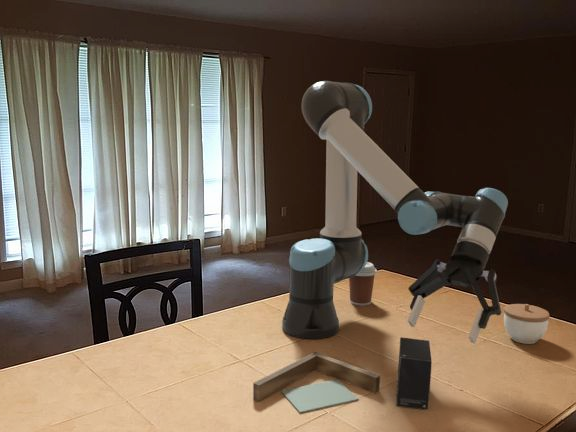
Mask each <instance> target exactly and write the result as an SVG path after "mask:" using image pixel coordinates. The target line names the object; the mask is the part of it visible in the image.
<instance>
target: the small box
mask: <svg viewBox="0 0 576 432" xmlns="http://www.w3.org/2000/svg"><path fill="white" fill-rule="evenodd" d="M430 344H431V343H430V340H426V339H418V338H417V339H416V338H411V337H401V336H400V338H399V353H398V364H397V365H398V366H397V367H398V368H397V378H396V398H395V401H396V403H395V404H396V407H403V408H411V409H418V410H428V409H429V401H430V391H431V390H430V389H431V376H432V365H433V364H432V354H431V353H432V352H431V345H430Z"/></svg>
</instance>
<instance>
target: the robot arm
mask: <svg viewBox="0 0 576 432" xmlns="http://www.w3.org/2000/svg"><path fill="white" fill-rule="evenodd" d="M372 112H373V103H372V99H371V97H370V94H369V93H368V92H367V90H366V89H364V87H362V86H360V85H358V84H354V83H352V82H341V81H340V82H338V81H330V80H323V81H318V82H315V83H314V84H312V85H311V86H309V87H308V88H307V89H306V91H305V92H304V94H303V96H302V99H301V113H302V115H303V118H304V120H305V122H306V124H307V125H308V126H309V127H310V129H311V130H312V131H313V132H314V133H315V134H316V135H317V137H319V138H320V140H325V141H326V147H325V148H326V149H325V150H326V152H325V153H326V157H325V159H326V160H325V163H326V164H325V165H326V166H325V222H324V223H325V226H323V228H322V229H321V230H320V231H319V238H318V237H317V238H310V239H303V240H299V241H297V242H295V243H294V244H293V245H292V246H291V248H290V250H289V251H290V252H289V259H288V264H289V288H288V289H289V297H288V299H289V300H288V302H287V306H286V308H285V310H284V311H285V312H284V315H283V316H282V321H281V322H282V325H281V327H282V330H283V332H284V333H286V334H288V335H290V336H292V337H295V338H300V339H307V340H314V339H315V340H316V339H317V340H318V339H325V338H329V337H332V336H334V335H336V334H337V333H338V332H339V329H340V328H339V327H340V320H339V318H338V314H337V311H336V306H335V303H334V285H335V284H338V283H340V282H343V281H345V280H347V279H348V280H349V278H351V277H354V276H355V275H356V274H358V273H359V272H361V271H362V270H363V269H364V267H365V265H366V263H367V262H368V261H369V250H368V246H367V244H365V241H364V240H363V239H362V231H361V230H360V229H359V228H358V227H357V213H358V212H357V211H358V209H357V207H358V206H357V203H358V201H357V200H358V173H359V174H360V175H361V176H362V177H363V178H364V179H365V180H366V182H367V183H369V185H370V186H371V187H372V188H373V189H374V190H375V191H376V192H377V194H379V195H380V196H381V197H382V198H383V200H385V202H387V203H388V205H390V207H391V208H392V209H393V210H394V211H395V212H396V213H397V221H398V223H399V226H400V228H401V229H402V230H403V232H405V233H407V234H409V235H415V236H416V235H423V234H427V233H429V232H431V231H433V230H436V229H439V228H441V227H444V226H454V227H458V228H459V227H460V228H462V229H461V232H460V234H459V236H458V238H457V240H456V241H457V242H456V244H455V246H454V249H453V250H452V253H451V255H450V259H449V260H448V262H447V263H444V262H442V261H441V260H440V259H438V258H437V259H435V260H434V261H433V263H432V265H431V266H430V267H429V268H428V269H427V270H426V271H425V272H424V273H423V274H421V276H420V277H419V278H417V279H416V280H415V281H414V282H413V283H412V284H410V286H409V287H408V291H409V292H410V294H411V296H413V297H412V301H411V303H410V304H409V308H410V310H411V311H410V314H409V316H408V318H407V322H408V324H409V325H410V327H411V328H415V327H416V325H417V322H418V319H419V317H420V315H421V312H422V310H423V307H424V306H425V303H426V301H425V300H424V299H425V298H427V297H429V296H430V295H431V294H432V295H433V294H434V293H435V292H437V291H439V290H441V289H442V288H445V287H448V286H450V285H451V284H453V286H461V287H463V288H468V287H471V288H472V289H473V291H474V293H475V296H476V298H477V300H478V301H479V304H480V306H481V307H482V309H481V308H478V310H477V313H476V314H475V315H476V316H475V318H474V321H473V322H472V326H471V329H470V332H469V334H468V339H469V341H470V342H471V344H474V345H475V344H476V343H477V340H478V337H479V334H480V332H481V330H482V329H486V328H487V325H488V322H489V320H490V317H491V316H493V315H496V316H501V314H502V309H501V303H500V300H499V295H498V290H497V285H496V284H497V280H498V276H497V275H498V274H496V271H495V269H494V268H491V269H489V270H485V268H486V265H487V262H488V260H489V258H490V254H491V252H492V250H493V247H494V244H495V241H496V239H497V236H498V233H499V231H500V227H501V226H502V223H503V221H504V219H505V217H506V212H507V208H508V205H509V201H508V198H507V196H506V195H505V194H504V192H502V191H501V190H498V189H496V188H492V187H484V188H481V189H479V190H478V191H477V192H476V194H475V196H471V195H469V196H468V195H460V194H453V193H447V192H441V191H429V190H428V191H426V192H424V191H423V190H422V189H421V188H420V187H419V186H418V185H417V184H416V183H415V182H414V181H413V179H411V178H410V177H409V176H408V175H407V174H406V173H405V172H404V171H403V170H402V169H401V168H400V167H399V166H398V164H396V163H395V162H394V161H393V160H392V159H391V158H390V156H388V154H386V152H384V150H383V149H382V148H380V147H379V145H378V144H377V143H376V142H375V141H374V140H373V139H372V138H370V136H369V135H367V134H366V132H365V124H366V123H367V122H368V120H369V119H370V118H371V115H372ZM444 270H445V271H444ZM443 271H444V272H443ZM439 274H440V275H439ZM438 275H439V276H438ZM437 276H438V277H437ZM483 278H484V279H485V281H486V282H487V285H488V289H489V291H488V292H489V295H490V300H491V305H489V304H488V303H487V300H486V298H485V297H484V295H483V293H482V292H483V291H482V289H480V286H479V284H478V281H480V280H481V279H483Z"/></svg>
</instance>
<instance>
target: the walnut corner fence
mask: <svg viewBox="0 0 576 432" xmlns="http://www.w3.org/2000/svg"><path fill="white" fill-rule="evenodd" d="M314 372H318V373H322V374H325V375H327V376H328V377H332V378H334V379H337V380H338V381H342V382H344V383H347V384H349V385H352V386H354V387H358V388H359V389H362V390H365V391H367V392H369V393H372V394H378V393H379V392H380V389H381V387H380V385H381V383H380V382H381V375H380V374H377V373H375V372H372V371H369V370H366V369H363V368H361V367H359V366H355V365H353V364H349V363H347V362H345V361H342V360H339V359H336V358H333V357H331V356H328V355H326V354H322V353H319V352H317V351H315V352H312V353H310V354H308V355H306V356H304V357H302V358H300V359H298V360H296V361H295V362H292V363H290V364H288V365H287V366H284V367H283V368H281V369H278V370H276V371H274V372H272V373H271V374H269V375H266V376H264V377H262V378H260V379H258V380H256V381H255V382H253V385H252V387H253V389H252V391H253V393H252V394H253V395H252V396H253V400H254V401H256V402H261V401H263V400H264V399H266V398H269V397H270V396H272V395H274V394H276V393H278V392H279V391H281V390H284V389H286V387H288V386H290V385H292V384H294V383H296V382H298V381H299V380H302V379H303V378H305V377H307V376H308V375H310V374H313V373H314Z"/></svg>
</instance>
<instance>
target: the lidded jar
mask: <svg viewBox="0 0 576 432" xmlns="http://www.w3.org/2000/svg"><path fill="white" fill-rule="evenodd" d="M549 320H550V313H549V311H548V310H546V309H544V308H543V307H542V308H541V307H539V306H537V305H536V306H535V305H531V304H528V303H511V304H507V305H505V307H504V308H503V324H504V329H505V332H507V335H509V336H510V338H511V340H512V341H514V342H516V343H521V344H525V345H533V344H535V343H537V342H538V341H539V340H541V339H542V338H543V337H544V335H545V334H546V332H547V329H548V325H549Z"/></svg>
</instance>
